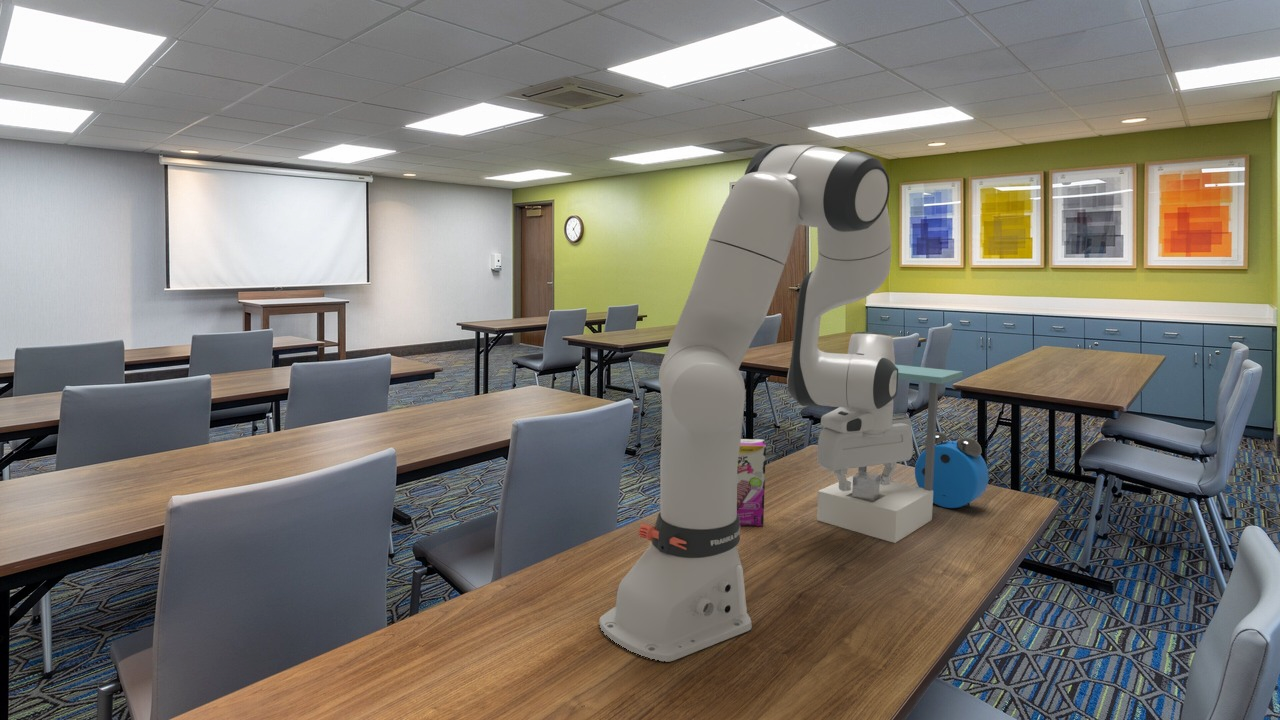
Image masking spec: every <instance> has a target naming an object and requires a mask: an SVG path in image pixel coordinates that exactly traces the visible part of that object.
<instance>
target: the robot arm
mask: <svg viewBox="0 0 1280 720" xmlns="http://www.w3.org/2000/svg"><path fill="white" fill-rule="evenodd" d="M890 187H891V183H890V179H889V175H888V173H887V170H886V169H885V167H884V165H883V163H882V162H881V161H880V160H879V159H877V158H876V157H873V156H871V155H870V154H866V153H863V152H860V151H846V150H842V149H837V148H832V147H826V146H823V145H816V144H792V145H791V144H788V143H776V144H773V145H768V146H766V147H763V148H761V149H760V150H759V151H757V152H756V153H755V154H754V156H753V157H752V159H751V160H750V161H749V164H748V165H747V167H746V169H745V172H744V175H742V176H741V177H740V178H739V179H738V180H737V181H736V182H735V184H734V185H733V187H732V189H731V191H730V192H729V194H728V195H727V198H726V199H725V201H724V203H723V205H722V207H721V209H720V211H719V214H718V216H717V217H716V221H715V222H714V225H713V226H712V230H711V232H710V235H709V237H708V241H707V243H706V246H705V248H704V252H703V255H702V258H701V260H700V263H699V265H698V269H697V272H696V273H695V274H696V275H695V277H694V280H693V283H692V285H691V288H690V289H691V290H690V292H689V295H688V297H687V299H686V301H685V304H684V306H683V309H682V311H681V314H680V316H679V318H678V321H677V322H676V326H675V328H674V329H673V333H672V335H671V338H670V341H669V342H668V346H667V348H666V351H665V353H664V356H663V359H662V361H661V364H660V367H659V371H658V383H659V387H660V395H661V439H660V440H661V441H660V442H661V444H660V447H661V448H660V459H659V460H660V468H659V469H660V470H659V471H660V477H659V478H660V486H659V487H660V492H659V493H660V494H659V495H660V499H659V500H660V501H659V503H660V507H659V508H660V511H659V513H658V514H657V517H656V518H657V519H656V521H655V524H654V526H652V525H650V524H648V523H646V522H645V523H642V524H641V525H640V526H639V528H638V536H639V537H640V538H643V539H647V540H648V541H650V542H651V543H650V545H649V546H648V548H647V549H646V550H645V551H644V553H643V554H642V555H641V556H640V557H639V558H638V560H637V561H636V562H635V563H634V564H633V566H632V567H631V569H629V571H628V572H627V573H626V575H624V577H623V578H622V580H621V581H620V583H619V586H618V588H617V591H616V592H617V593H616V600H615V606H614V607H612V608H611V609H609V610H608V611H606V612H605V613H604V614H602V615H601V616H600V617H599V620H598V621H599V622H598V625H600V626H599V629H600V628H601V629H600V630H601V632H602V631H603V632H604V633H603V632H602V633H603V634H604V636H606V635H607V636H608V637H609V638H610V639H611V641H612V640H613V641H614V642H615V643H614V642H613V641H612V642H613V643H614V644H616V643H617V644H616V645H618V644H619V645H621V646H622V647H621V646H620V647H621V648H623V647H624V648H626V649H627V651H628V650H629V651H628V652H630V651H631V653H632V652H634V653H637V654H639V655H641V656H640V657H642V656H645V657H648V658H650V659H649V660H652V659H655V660H654V661H657V660H659V661H660V662H664V661H665V662H666V663H667V662H673V661H676V660H678V659H681V658H684V657H686V656H688V655H691V654H694V653H696V652H699V651H701V650H704V649H706V648H710V647H711V646H715V645H716V644H718V643H721V642H724V641H726V640H729V639H732V638H734V637H736V636H739V635H741V634H744V633H748V632H749V631H750V630H752V629H753V625H752V619H751V617H750V615H749V614H748V606H747V601H746V600H747V599H746V590H745V579H744V578H745V577H744V569H743V565H742V562H741V558H740V556H739V550H738V544H739V543H740V539H741V538H740V537H741V536H740V533H741V525H740V521H739V516H738V514H737V467H738V456H739V449H740V442H741V439H742V434H743V422H744V411H745V398H746V387H745V386H746V384H745V381H744V377H743V376H742V373H741V371H740V367H741V364H742V362H743V359H744V358H745V356H746V354H747V351H748V350H749V348H750V345H751V344H752V342H753V340H754V338H755V337H756V334H757V332H758V331H759V329H760V328H761V326H762V325H763V323H764V321H765V320H766V317H767V314H768V312H769V310H770V307H771V304H772V302H773V299H774V296H775V293H776V291H777V287H778V285H779V283H780V280H781V276H782V275H783V271H784V268H785V265H786V263H787V260H788V257H789V254H790V251H791V248H792V245H793V241H794V236H795V233H796V229H797V228H798V226H799V225H801V226H806V227H810V228H817V252H818V255H817V261H816V264H815V267H814V269H813V270H812V271H810V272H808V273H806V274H805V275H804V277H803V280H802V282H801V284H800V287H799V290H798V295H797V303H796V309H795V310H796V311H795V318H794V319H795V320H794V330H793V339H792V348H791V358H790V363H789V368H788V372H787V376H786V377H787V378H786V385H787V391H788V393H789V395H790V396H791V397H792V398H793V399H794V400H795V401H796V402H797V403H798V404H799V405H801V406H802V407H822V406H823V407H824V406H825V407H834V408H835V409H833V410H831V411H829V412H827V413H825V414H823V415H822V416H821V417H820V418H821V419H820V425H821V426H822V427H824V428H823V429H822V430H821V431H820V433H819V436H818V442H817V452H816V453H817V454H816V457H817V458H816V459H817V463H818V465H819V466H820V468H822V469H824V470H826V471H829V472H833V473H834V475H835V476H836V479H837V480H838V482H839V489H840V490H841V491H849V490H851V487H850V486H851V482H850V481H847V479H846V478H847V477H846V475H847V474H848V470H850V469H856V468H858V469H859V467H865V466H867V467H869V466H870V467H871V466H877V465H883V466H884V467H883V469H882V472H881V473H879V475H880V484H882V485H889V484H890V481H892V479H891V477H892V475H893V474H894V473H895V471H896V469H897V463H900V462H908V461H910V460H911V458H912V457H913V455H914V442H913V441H914V440H913V431H912V420H911V418H910V417H909V416H908V415H907V414H906V413H905V412H904V413H903V412H901V413H897V414H896V413H894V399H895V398H896V397H897V393H898V382H899V379H898V368H897V367H896V366H895V365H896V358H895V357H896V356H895V355H896V354H895V345H894V338H893V337H892V336H891V335H889V334H887V333H884V332H876V331H875V332H874V331H858V332H854V333H852V334H851V336H850V338H849V342H848V347H847V348H848V349H847V353H839V352H838V353H835V352H826V351H822V350H820V349H819V347H818V345H819V344H818V343H819V336H820V326H821V319H822V316H823V315H824V314H825V313H827V312H829V311H831V310H834V309H836V308H839V307H842V306H845V305H848V304H852V303H856V302H858V301H860V300H862V299H865V298H867V297H868V296H870V295H872V294H873V293H874V292H876V291H877V290H878V289H879V288H880V287H881V286H882V285H883V284H884V283H885V281H886V280H887V278H888V276H889V274H890V268H891V262H892V231H891V230H892V229H891V222H890V214H889V209H888V204H887V203H888V201H889V196H890V190H891V188H890ZM607 636H606V637H607ZM608 637H607V638H608ZM609 638H608V639H609ZM610 639H609V640H610ZM619 645H618V646H619ZM624 648H623V649H624ZM626 649H625V650H626ZM634 653H633V654H634ZM637 654H636V655H637ZM639 655H638V656H639ZM645 657H644V658H645ZM648 658H647V659H648ZM659 661H658V662H659Z"/></svg>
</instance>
